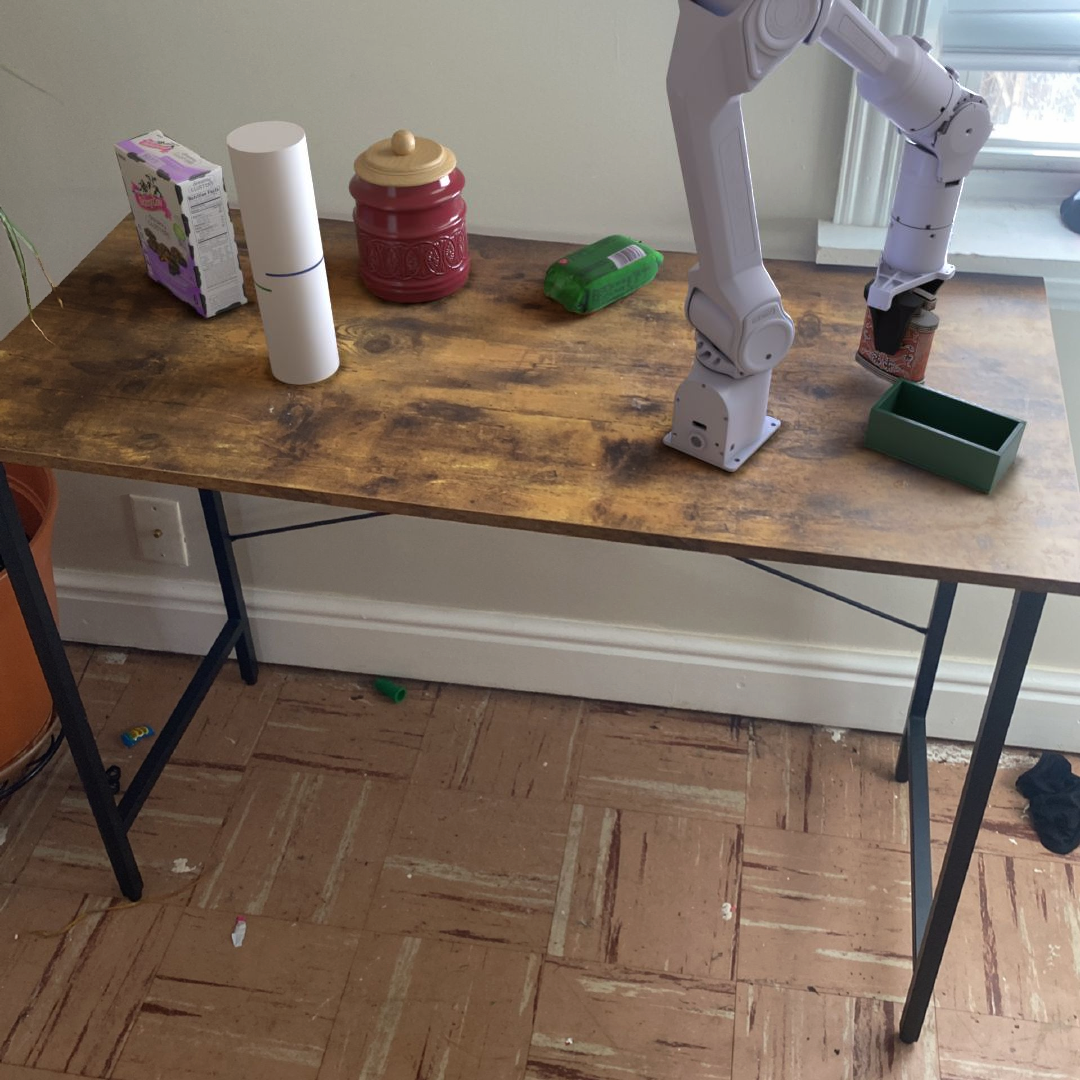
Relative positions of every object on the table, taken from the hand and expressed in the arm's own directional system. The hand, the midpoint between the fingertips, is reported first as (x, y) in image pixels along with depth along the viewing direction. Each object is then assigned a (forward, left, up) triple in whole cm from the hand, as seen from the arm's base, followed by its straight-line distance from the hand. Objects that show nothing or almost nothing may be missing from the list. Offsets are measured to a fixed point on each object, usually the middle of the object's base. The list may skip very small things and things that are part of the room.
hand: (894, 342), depth 118 cm
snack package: (-2, +34, -5) cm, 34 cm away
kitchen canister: (-12, +54, -5) cm, 56 cm away
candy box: (-29, +73, -5) cm, 79 cm away
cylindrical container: (-33, +51, -5) cm, 61 cm away
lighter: (0, 0, -4) cm, 4 cm away
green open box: (-8, -9, -5) cm, 13 cm away
